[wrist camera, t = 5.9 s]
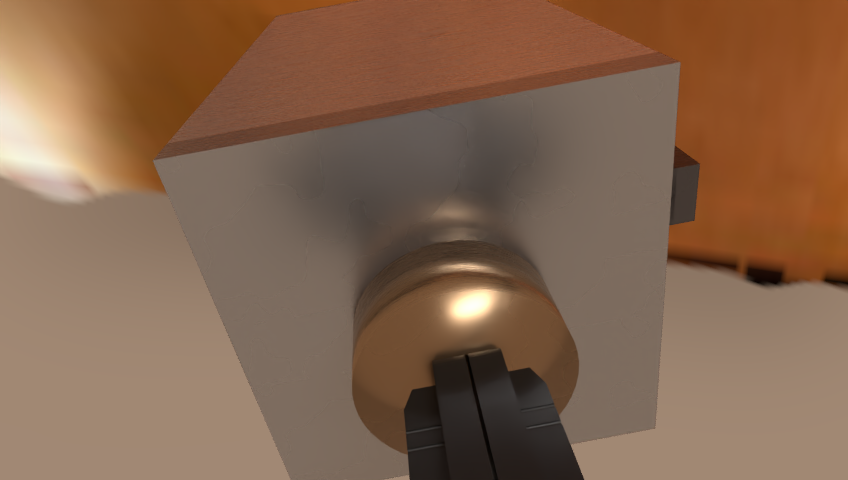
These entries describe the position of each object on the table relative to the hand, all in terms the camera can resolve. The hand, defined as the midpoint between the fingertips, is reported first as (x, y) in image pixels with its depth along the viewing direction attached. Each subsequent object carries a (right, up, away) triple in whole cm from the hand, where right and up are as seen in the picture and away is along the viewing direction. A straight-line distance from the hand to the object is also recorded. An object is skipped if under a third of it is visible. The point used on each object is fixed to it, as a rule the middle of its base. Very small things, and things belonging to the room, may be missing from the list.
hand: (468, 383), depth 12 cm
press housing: (-1, +11, +19) cm, 22 cm away
